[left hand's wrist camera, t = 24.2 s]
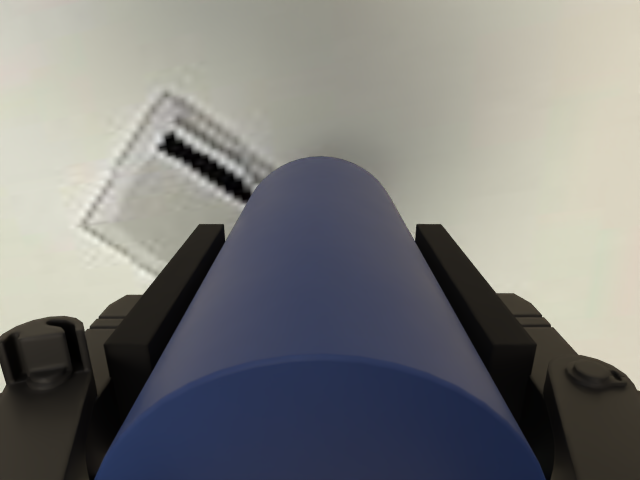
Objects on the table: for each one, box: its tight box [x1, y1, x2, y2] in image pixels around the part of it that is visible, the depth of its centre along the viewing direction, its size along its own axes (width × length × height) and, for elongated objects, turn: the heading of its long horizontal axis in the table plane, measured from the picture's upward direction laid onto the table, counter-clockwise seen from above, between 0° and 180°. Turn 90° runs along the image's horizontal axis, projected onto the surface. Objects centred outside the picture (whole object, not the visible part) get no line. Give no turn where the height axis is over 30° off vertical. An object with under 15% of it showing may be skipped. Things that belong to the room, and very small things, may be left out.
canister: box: [94, 156, 546, 480], centre depth 11 cm, size 6×6×12 cm
